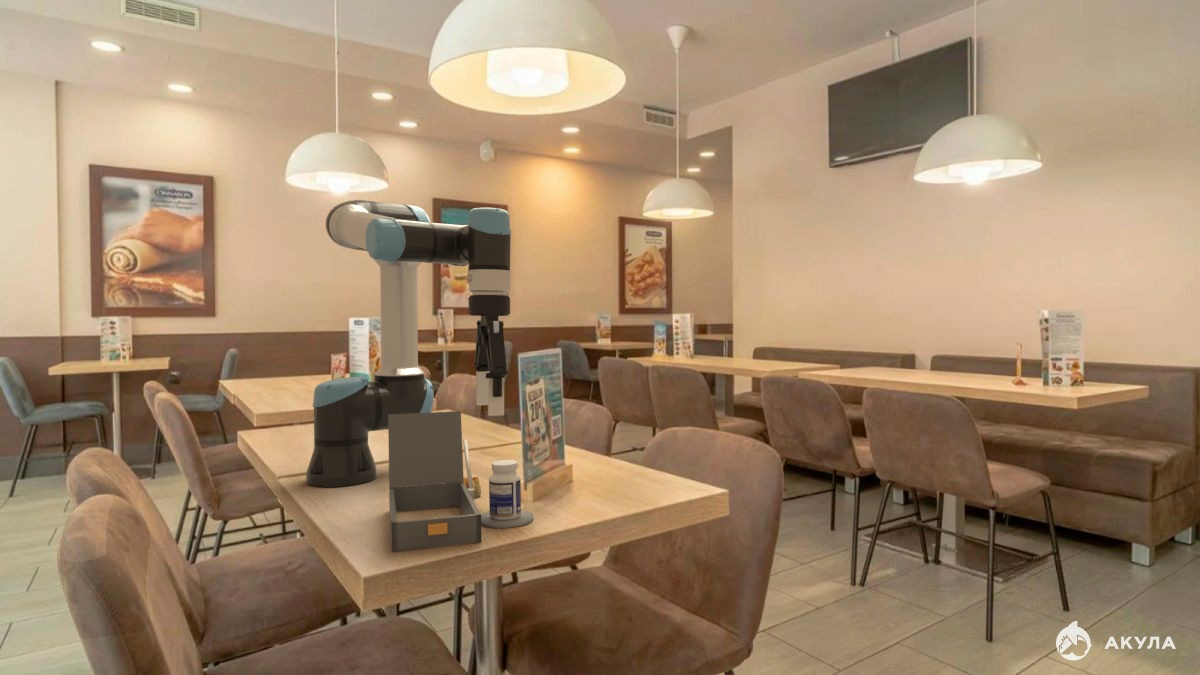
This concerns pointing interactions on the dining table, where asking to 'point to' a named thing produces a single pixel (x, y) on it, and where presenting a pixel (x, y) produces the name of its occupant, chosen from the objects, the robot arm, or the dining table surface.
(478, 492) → the pastry
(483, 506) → the dining table surface
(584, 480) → the dining table surface
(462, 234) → the robot arm
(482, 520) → the pad
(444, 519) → the case
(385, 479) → the dining table surface
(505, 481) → the pill bottle
